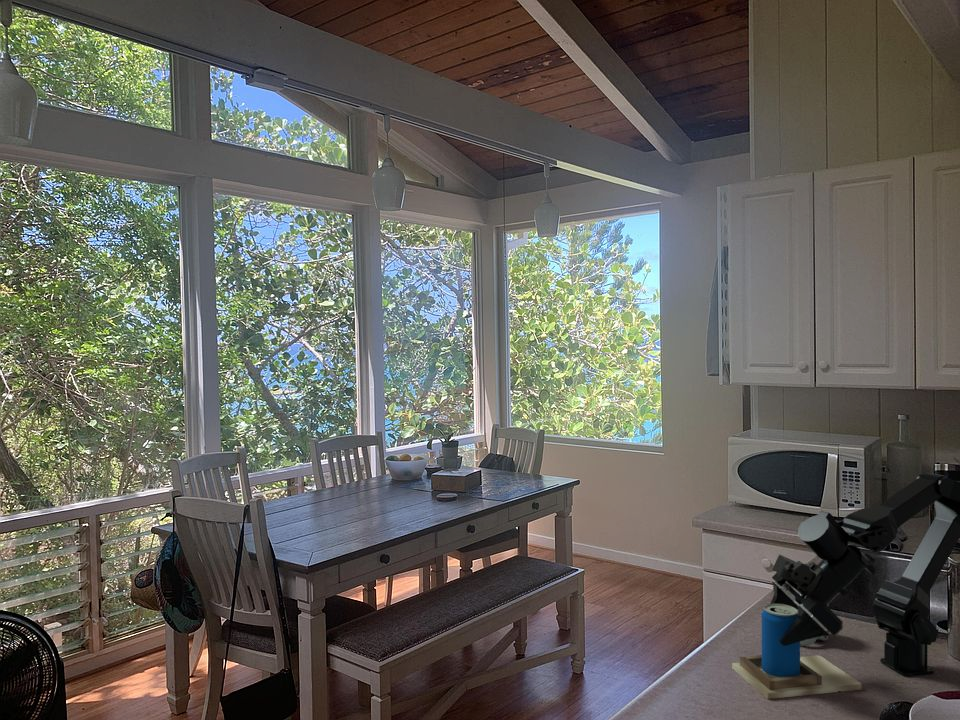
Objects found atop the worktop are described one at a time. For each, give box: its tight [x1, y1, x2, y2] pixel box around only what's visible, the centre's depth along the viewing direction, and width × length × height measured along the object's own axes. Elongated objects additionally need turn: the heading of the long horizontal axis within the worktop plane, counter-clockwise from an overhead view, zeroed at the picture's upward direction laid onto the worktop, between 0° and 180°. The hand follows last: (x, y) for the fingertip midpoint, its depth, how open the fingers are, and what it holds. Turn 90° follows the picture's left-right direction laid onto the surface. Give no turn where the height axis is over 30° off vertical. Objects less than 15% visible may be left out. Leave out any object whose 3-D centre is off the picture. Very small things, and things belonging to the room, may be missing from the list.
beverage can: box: [761, 603, 801, 678], centre depth 133 cm, size 6×6×12 cm
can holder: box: [731, 654, 862, 700], centre depth 134 cm, size 18×12×2 cm, turn 100°
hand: (772, 633), depth 133 cm, fingers open, 9 cm apart
